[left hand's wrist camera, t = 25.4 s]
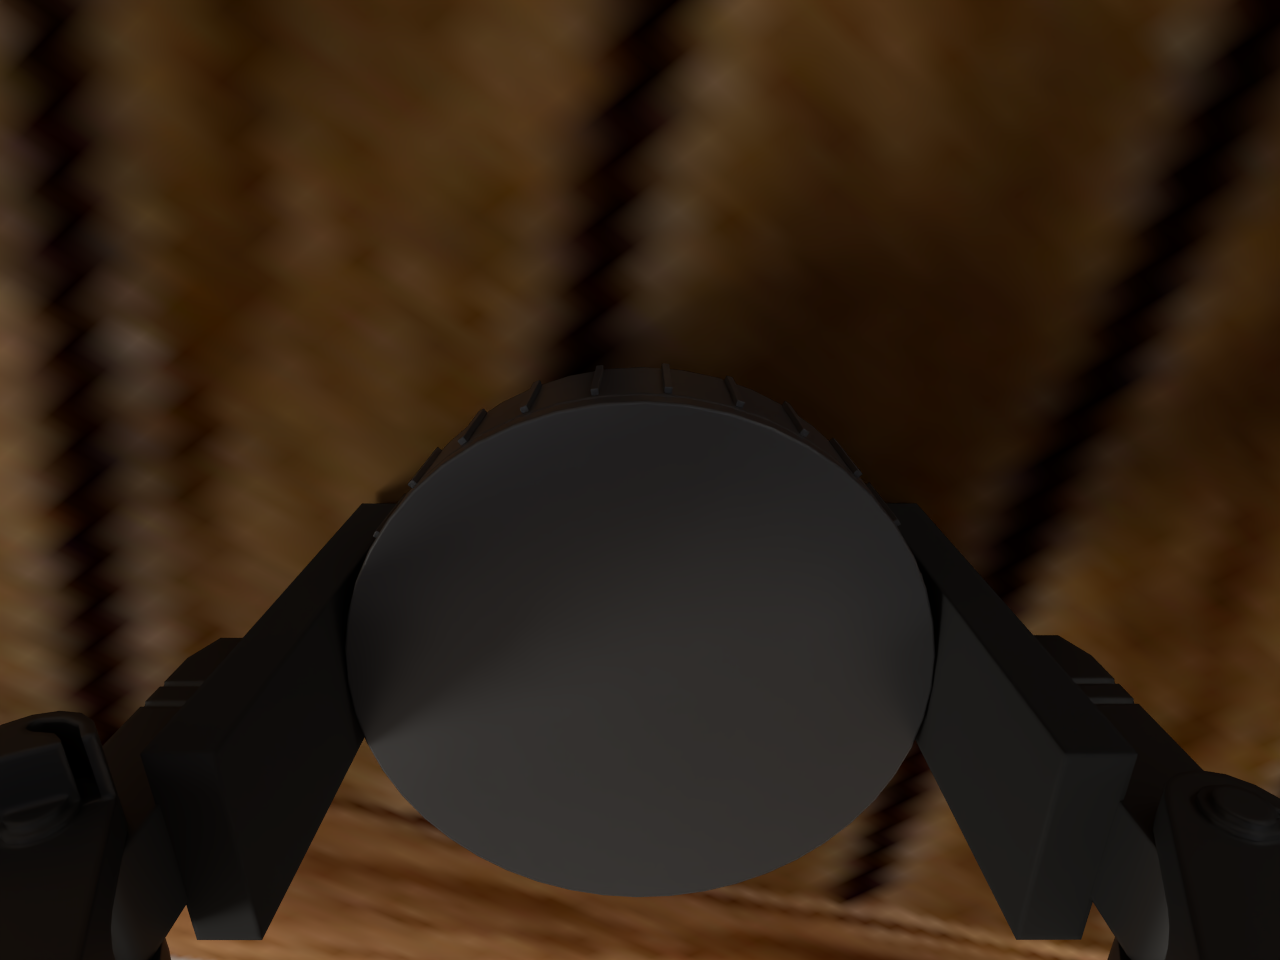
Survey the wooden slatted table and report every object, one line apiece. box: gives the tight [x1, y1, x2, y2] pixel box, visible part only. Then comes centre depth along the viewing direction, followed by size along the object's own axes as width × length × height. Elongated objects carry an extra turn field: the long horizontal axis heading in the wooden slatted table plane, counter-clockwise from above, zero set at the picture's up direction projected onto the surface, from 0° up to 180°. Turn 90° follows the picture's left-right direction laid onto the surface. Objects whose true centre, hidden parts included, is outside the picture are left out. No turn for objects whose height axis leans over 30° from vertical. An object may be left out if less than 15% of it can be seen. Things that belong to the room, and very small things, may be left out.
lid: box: [345, 364, 935, 897], centre depth 12 cm, size 9×9×2 cm
